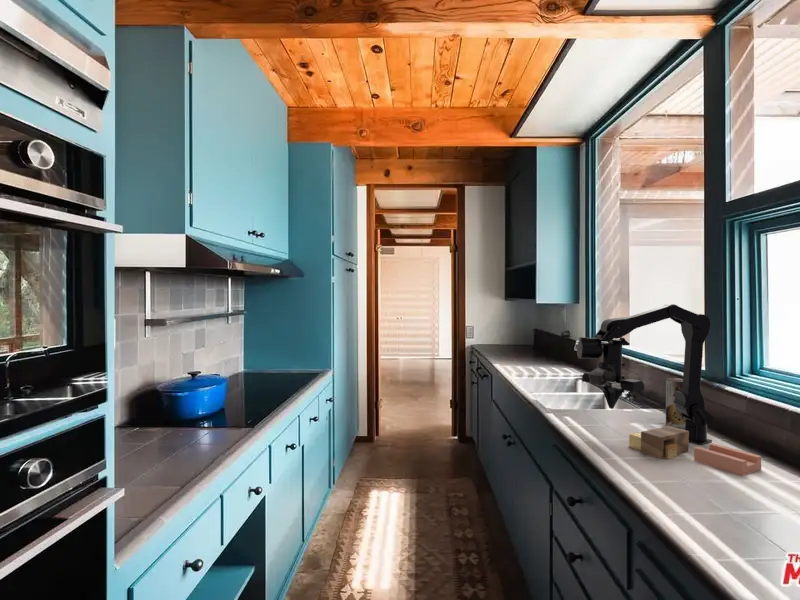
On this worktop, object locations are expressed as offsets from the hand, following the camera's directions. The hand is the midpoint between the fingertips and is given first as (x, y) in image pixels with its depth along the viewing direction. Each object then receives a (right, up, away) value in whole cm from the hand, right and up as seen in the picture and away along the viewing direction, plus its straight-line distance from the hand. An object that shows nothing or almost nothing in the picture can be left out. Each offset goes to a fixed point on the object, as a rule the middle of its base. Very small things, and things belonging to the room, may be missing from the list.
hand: (611, 408), depth 150 cm
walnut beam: (+10, -10, -12) cm, 19 cm away
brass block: (+7, -10, -12) cm, 17 cm away
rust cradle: (+21, -10, -22) cm, 32 cm away
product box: (+31, -10, +15) cm, 35 cm away
